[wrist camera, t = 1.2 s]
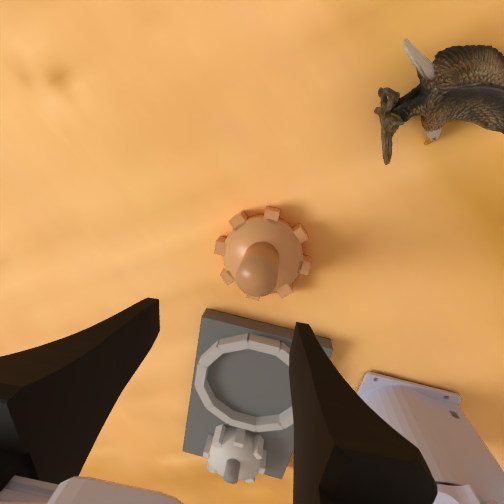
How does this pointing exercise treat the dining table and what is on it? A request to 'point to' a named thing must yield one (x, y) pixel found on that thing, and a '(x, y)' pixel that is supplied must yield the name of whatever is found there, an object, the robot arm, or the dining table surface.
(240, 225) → the planet gear
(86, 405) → the robot arm
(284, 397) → the carrier plate
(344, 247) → the dining table surface
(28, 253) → the dining table surface
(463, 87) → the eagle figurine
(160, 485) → the dining table surface
